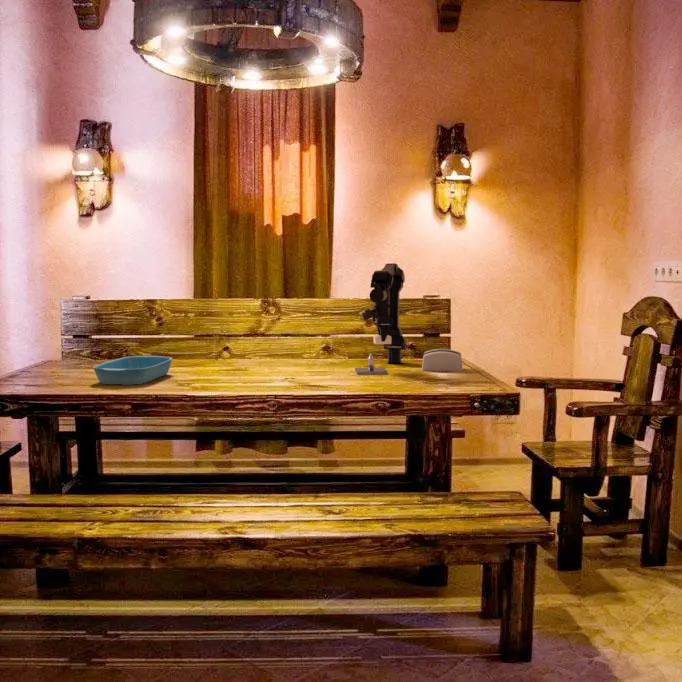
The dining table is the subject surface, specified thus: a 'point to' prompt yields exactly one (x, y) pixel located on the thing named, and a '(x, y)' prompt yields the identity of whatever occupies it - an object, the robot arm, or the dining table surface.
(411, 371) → the dining table surface
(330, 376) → the dining table surface
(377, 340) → the collar
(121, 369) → the casserole dish
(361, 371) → the grey base with post
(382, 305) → the robot arm
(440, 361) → the napkin holder
